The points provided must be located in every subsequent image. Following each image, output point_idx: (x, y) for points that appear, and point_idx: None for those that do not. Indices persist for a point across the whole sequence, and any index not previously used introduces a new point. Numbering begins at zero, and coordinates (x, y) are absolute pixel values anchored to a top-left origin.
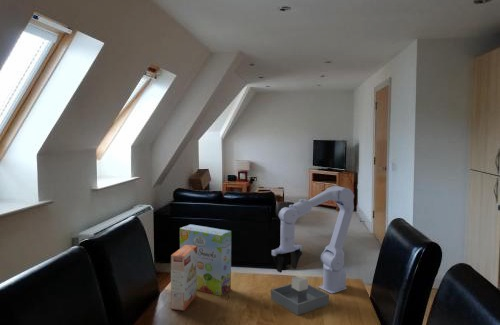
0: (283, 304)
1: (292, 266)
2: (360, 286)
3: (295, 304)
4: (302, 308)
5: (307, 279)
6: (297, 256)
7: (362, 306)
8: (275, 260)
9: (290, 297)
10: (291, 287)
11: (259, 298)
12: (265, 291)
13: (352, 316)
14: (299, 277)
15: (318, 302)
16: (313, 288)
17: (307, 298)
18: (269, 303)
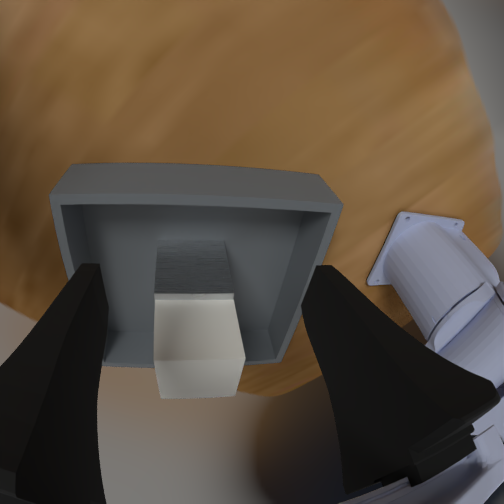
0: None
1: (317, 286)
2: None
3: None
4: (126, 347)
5: (228, 393)
6: (341, 451)
7: None
8: (13, 386)
9: (157, 246)
10: (155, 298)
11: (23, 121)
12: (114, 45)
13: (254, 382)
14: (204, 376)
15: None
16: (297, 301)
17: (240, 275)
18: (42, 201)
